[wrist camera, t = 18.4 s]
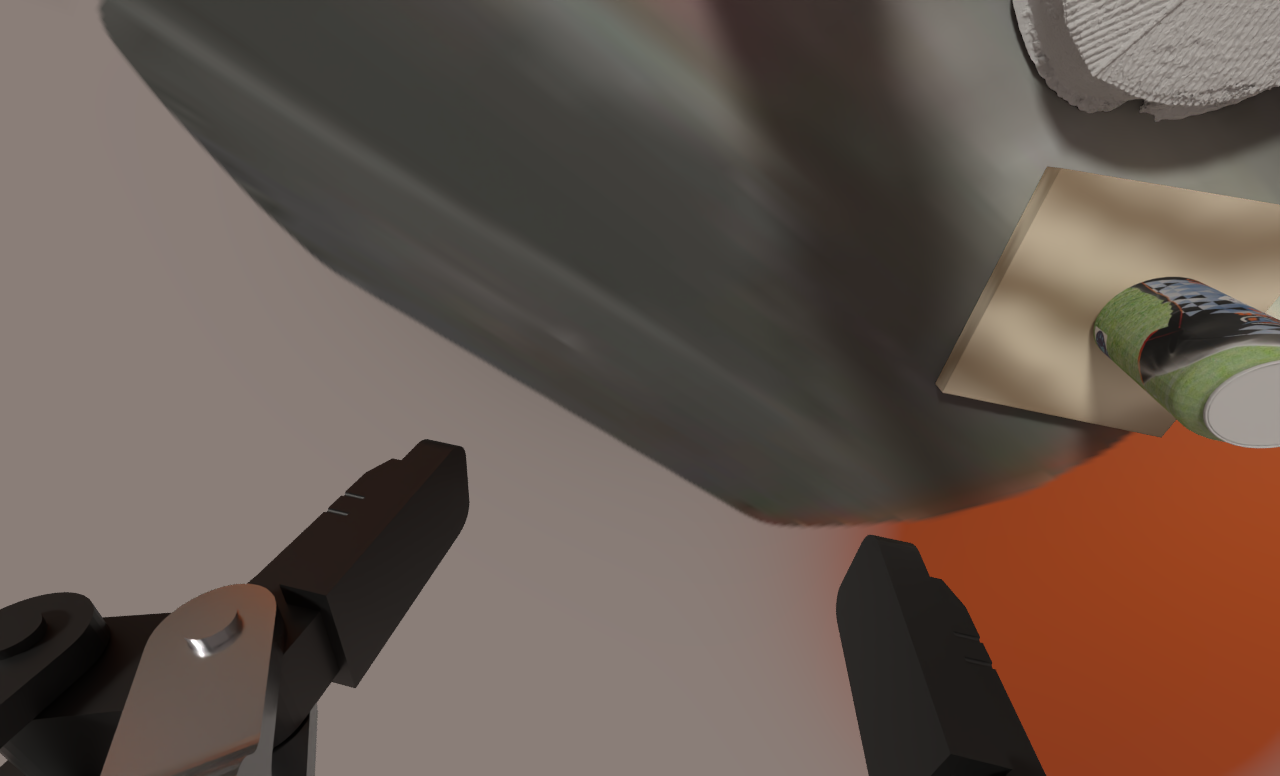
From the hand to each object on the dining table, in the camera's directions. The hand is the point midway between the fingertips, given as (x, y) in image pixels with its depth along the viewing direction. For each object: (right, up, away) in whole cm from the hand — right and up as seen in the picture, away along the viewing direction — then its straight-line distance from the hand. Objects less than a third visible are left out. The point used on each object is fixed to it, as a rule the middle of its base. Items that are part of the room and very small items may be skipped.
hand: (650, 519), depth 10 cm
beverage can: (+33, +7, +23) cm, 41 cm away
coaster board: (+32, +8, +24) cm, 41 cm away
